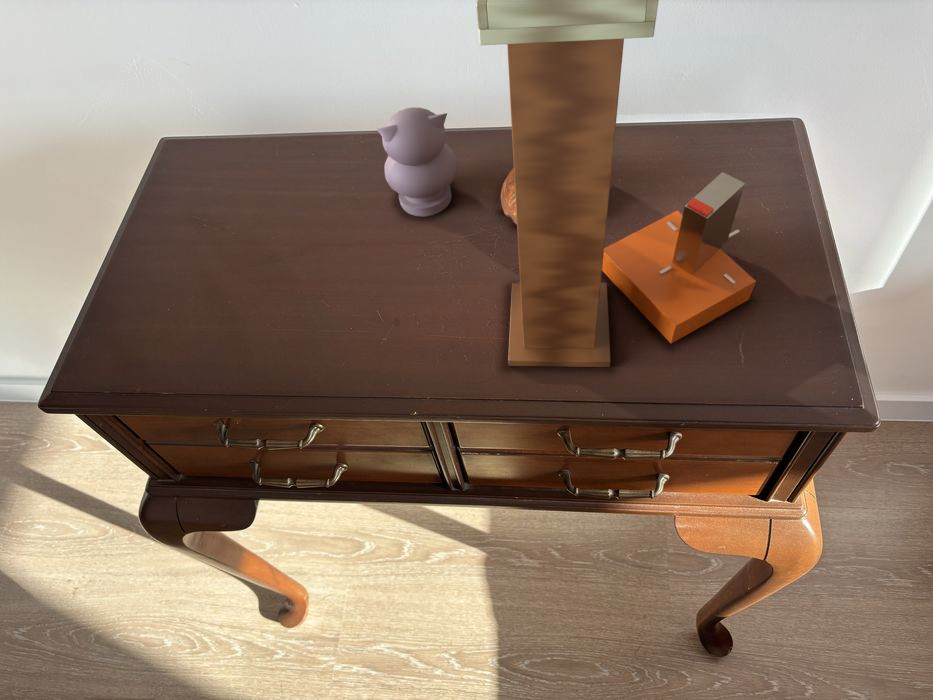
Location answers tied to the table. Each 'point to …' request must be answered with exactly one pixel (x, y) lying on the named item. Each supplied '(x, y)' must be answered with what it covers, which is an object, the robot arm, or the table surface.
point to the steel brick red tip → (707, 222)
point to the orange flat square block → (674, 280)
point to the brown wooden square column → (562, 165)
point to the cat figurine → (419, 160)
